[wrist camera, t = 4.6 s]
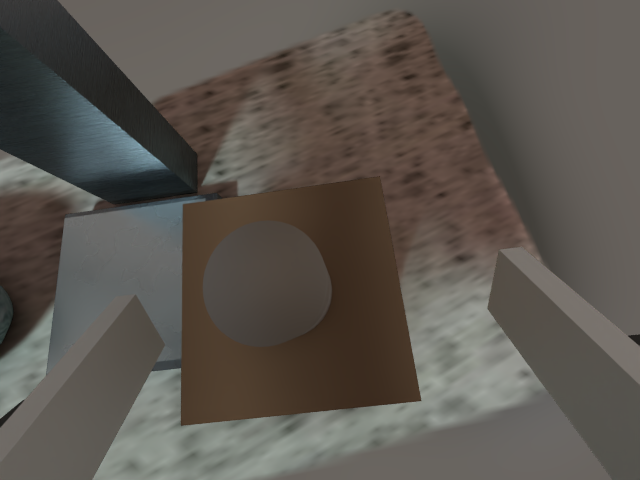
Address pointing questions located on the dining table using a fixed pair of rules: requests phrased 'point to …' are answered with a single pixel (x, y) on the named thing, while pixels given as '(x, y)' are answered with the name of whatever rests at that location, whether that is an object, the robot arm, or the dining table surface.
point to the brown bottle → (292, 305)
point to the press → (97, 171)
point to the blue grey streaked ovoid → (5, 313)
